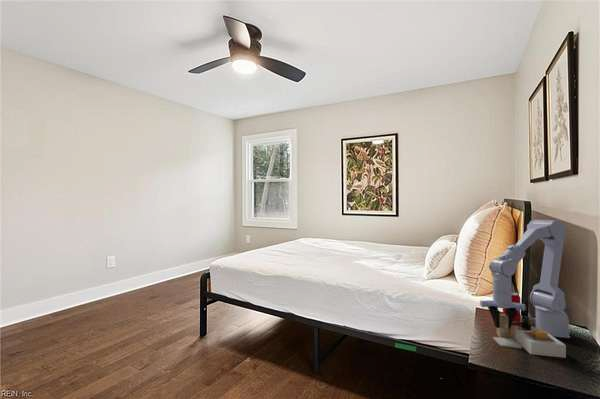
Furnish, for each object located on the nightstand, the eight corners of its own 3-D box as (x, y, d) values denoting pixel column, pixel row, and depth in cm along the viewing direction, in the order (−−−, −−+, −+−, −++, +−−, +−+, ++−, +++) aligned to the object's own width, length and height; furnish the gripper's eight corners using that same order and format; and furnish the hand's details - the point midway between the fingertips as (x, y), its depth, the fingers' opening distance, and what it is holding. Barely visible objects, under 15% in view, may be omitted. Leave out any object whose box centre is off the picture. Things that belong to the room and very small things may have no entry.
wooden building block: (504, 335, 112) (504, 314, 112) (508, 338, 109) (508, 316, 109) (496, 334, 112) (496, 313, 112) (499, 337, 109) (499, 316, 110)
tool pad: (512, 340, 107) (512, 338, 107) (521, 348, 101) (521, 346, 101) (493, 338, 109) (493, 336, 109) (501, 346, 102) (501, 344, 102)
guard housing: (547, 343, 105) (546, 331, 105) (566, 357, 95) (565, 344, 95) (515, 340, 107) (515, 328, 107) (530, 354, 97) (530, 340, 97)
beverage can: (523, 324, 122) (523, 295, 122) (507, 323, 123) (506, 294, 124) (515, 319, 128) (515, 291, 128) (500, 317, 129) (500, 290, 130)
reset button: (541, 338, 102) (541, 329, 102) (547, 342, 99) (547, 333, 99) (530, 337, 103) (530, 328, 103) (536, 341, 100) (536, 332, 100)
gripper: (485, 292, 109) (485, 329, 108) (529, 295, 105) (530, 333, 105) (477, 287, 115) (478, 322, 115) (519, 290, 112) (519, 325, 112)
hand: (502, 327), depth 111 cm, fingers open, 3 cm apart
